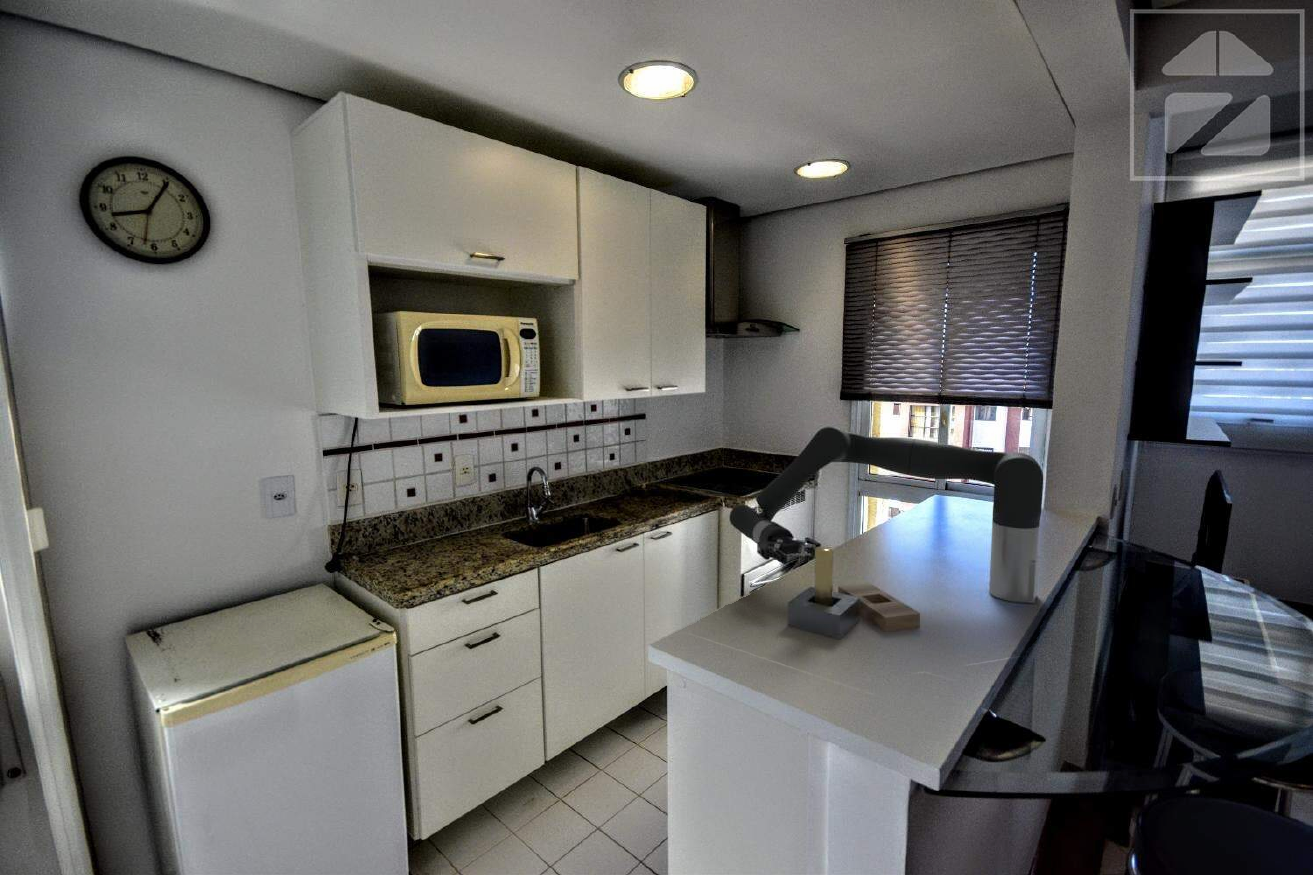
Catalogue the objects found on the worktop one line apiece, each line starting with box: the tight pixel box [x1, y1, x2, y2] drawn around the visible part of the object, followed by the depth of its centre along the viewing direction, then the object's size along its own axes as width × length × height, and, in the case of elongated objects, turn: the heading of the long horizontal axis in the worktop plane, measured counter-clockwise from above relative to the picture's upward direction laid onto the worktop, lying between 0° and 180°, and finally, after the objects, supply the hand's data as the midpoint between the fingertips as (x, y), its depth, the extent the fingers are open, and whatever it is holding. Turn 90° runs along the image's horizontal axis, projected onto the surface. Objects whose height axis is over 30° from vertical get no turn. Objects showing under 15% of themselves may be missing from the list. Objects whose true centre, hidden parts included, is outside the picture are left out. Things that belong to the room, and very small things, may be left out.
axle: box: [814, 546, 834, 607], centre depth 120 cm, size 4×4×16 cm
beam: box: [837, 582, 921, 633], centre depth 126 cm, size 18×8×3 cm, turn 13°
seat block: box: [787, 586, 860, 641], centre depth 121 cm, size 11×11×5 cm
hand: (803, 558), depth 129 cm, fingers open, 8 cm apart
